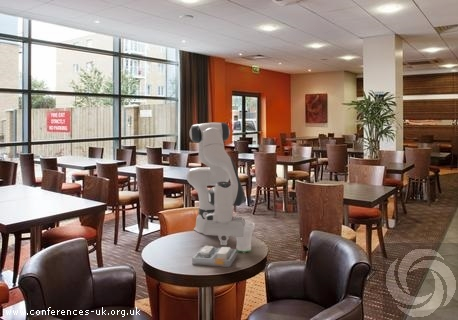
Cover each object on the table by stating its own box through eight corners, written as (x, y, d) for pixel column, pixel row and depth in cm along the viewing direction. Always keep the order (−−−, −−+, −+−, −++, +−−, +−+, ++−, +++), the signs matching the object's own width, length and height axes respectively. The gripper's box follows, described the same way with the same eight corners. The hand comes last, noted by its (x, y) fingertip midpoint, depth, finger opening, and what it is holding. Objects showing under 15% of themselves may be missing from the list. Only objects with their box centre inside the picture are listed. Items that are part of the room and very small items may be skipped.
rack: (202, 252, 204) (202, 243, 204) (237, 255, 200) (237, 245, 200) (192, 264, 188) (191, 254, 187) (229, 267, 184) (229, 257, 183)
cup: (248, 255, 199) (248, 228, 198) (229, 252, 204) (229, 225, 203) (258, 249, 209) (258, 222, 207) (239, 246, 214) (239, 220, 213)
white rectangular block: (221, 254, 198) (221, 246, 198) (230, 255, 197) (230, 247, 197) (216, 261, 189) (216, 253, 188) (226, 262, 188) (226, 254, 187)
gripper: (246, 215, 192) (246, 244, 193) (205, 213, 196) (205, 241, 197) (243, 218, 185) (243, 248, 187) (201, 216, 190) (201, 245, 191)
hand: (223, 244), depth 192 cm, fingers closed
